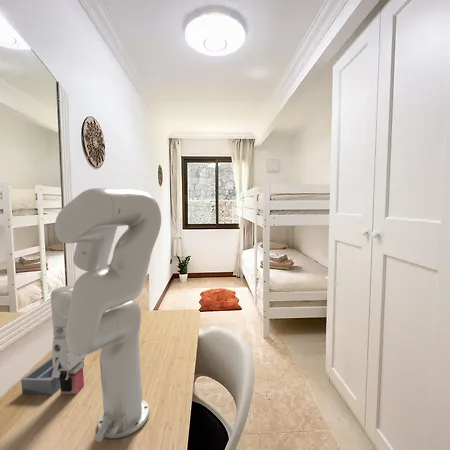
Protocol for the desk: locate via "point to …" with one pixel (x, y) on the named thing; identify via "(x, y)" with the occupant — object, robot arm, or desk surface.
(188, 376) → the desk surface
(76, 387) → the small box
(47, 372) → the walled box
